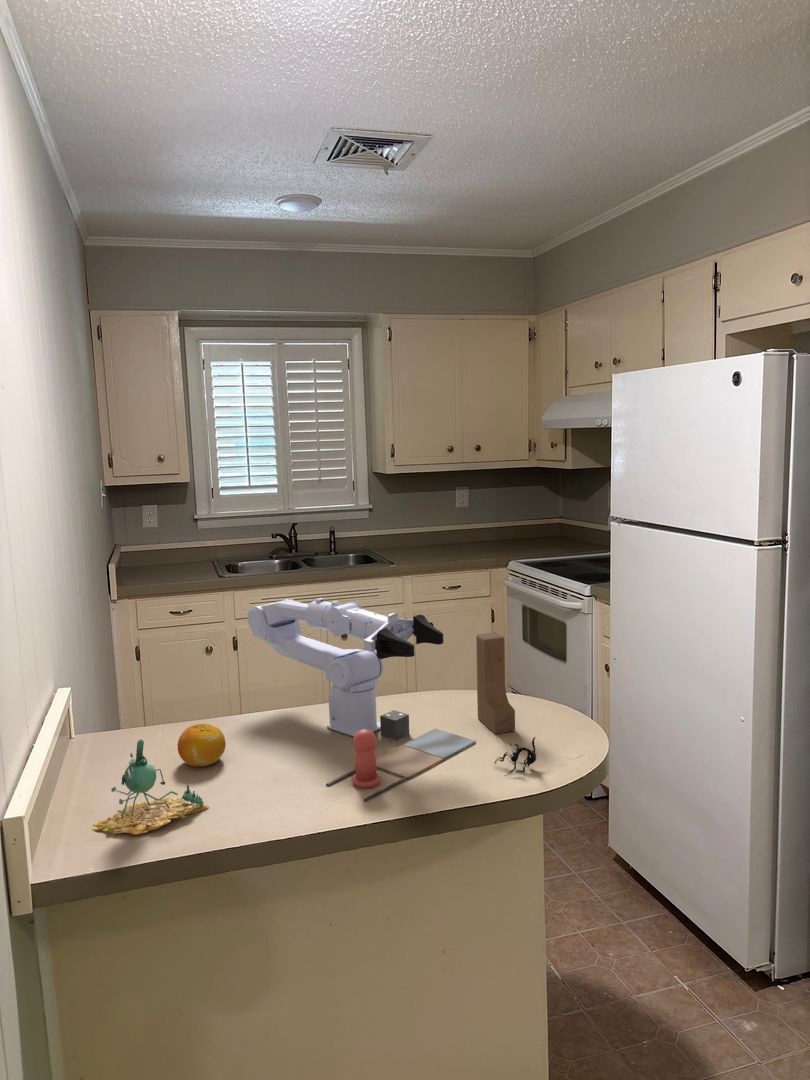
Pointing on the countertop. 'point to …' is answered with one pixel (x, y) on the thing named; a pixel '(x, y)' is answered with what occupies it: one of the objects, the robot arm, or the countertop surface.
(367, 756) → the pawn
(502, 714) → the wooden block
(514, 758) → the creature
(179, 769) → the countertop surface
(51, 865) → the countertop surface
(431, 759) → the board
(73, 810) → the countertop surface
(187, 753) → the fruit
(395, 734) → the die
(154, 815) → the teal figurine on bark
